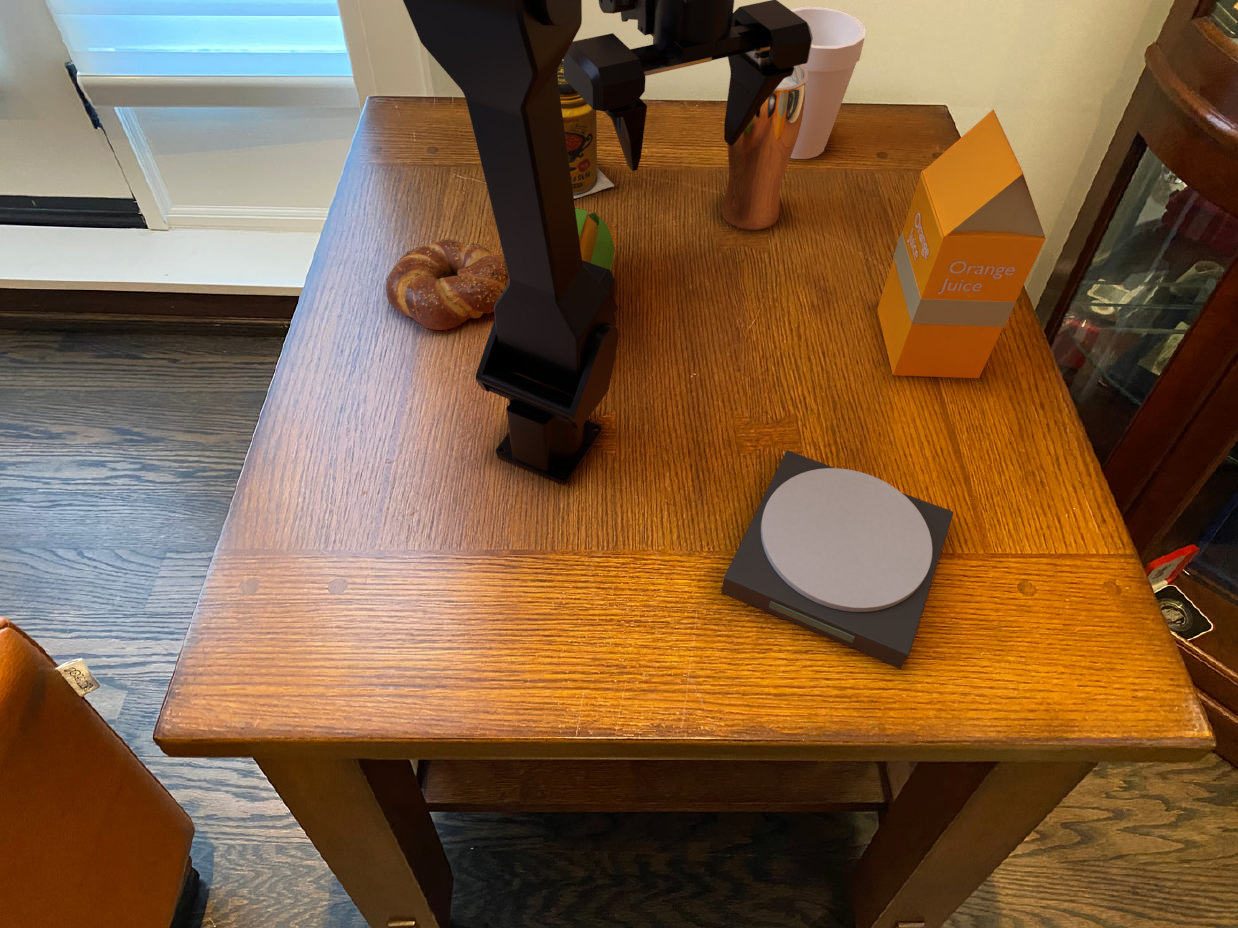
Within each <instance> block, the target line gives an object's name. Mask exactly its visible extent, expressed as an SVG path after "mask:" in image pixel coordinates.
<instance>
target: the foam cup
mask: <svg viewBox="0 0 1238 928" xmlns="http://www.w3.org/2000/svg"><path fill="white" fill-rule="evenodd" d="M789 10H791V11H792V12H794V13H795V14H796V15H798V16H799V17H800V18H802V19H803V20H805V21H806V22H807V23H808V25H809V26H810V29H811V33H812V37H813V39H812V45H811V50H810V55H809V59H808V62H807V63H806V64H802V65H803V66H804V67H805V68H806V70H807V72H808V78H807V85H806V95H805V104H804V111H803V117H802V122H801V127H800V131H799V135H798V138H797V141H796V144H795V147H794V150H793V152H792V155H791V157H790V159H794V160H795V159H796V160H808V159H811V158H816V157H818V156H819V155H821V154H822V153H823V152H825V147H826V146H827V144H828V142H829V139H830V136H831V133H832V130H833V128H834V125H835V122H836V120H837V118H838V114H839V112H840V108H841V106H842V103H843V100H844V98H845V95H846V92H847V90H848V87H849V85H850V82H851V79H852V76H853V73H854V72H855V69H856V66H857V63H858V62H859V61H860V60H861V55H862V51H863V46H864V42H865V37H866V33H867V32H866V31H867V28H866V27H865V25H864V24H863V23H862V22H861V20H859V18H857V17H855V16H853V15H851V14H849V13H847V12H845V11H843V10H840V9H839V10H838V9H834V8H829V7H825V6H799V7H795V8H791V9H790V8H789Z"/></svg>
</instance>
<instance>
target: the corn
mask: <svg viewBox="0 0 1238 928" xmlns="http://www.w3.org/2000/svg"><path fill="white" fill-rule="evenodd" d="M575 211H576V219H577V226H578V234H579V241H580V249H581V256H582V260H584V261H587V262H590V263H592V264H595V265H598V266H601V267H604V268H607V269H609V270H610V271H611V272H612V268H613V266H614V265H613V264H614V257H615V250H616V246H615V242H614V239H613V237H612V233H611V230H610V227H609V226H608V224H607V222H605V221H604V220H603V218H601V216H600V215H599V214H597V213H596V212H595V211H593V212H591V213H588V210H587V209H582V208H577V207H575Z"/></svg>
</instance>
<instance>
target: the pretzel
mask: <svg viewBox="0 0 1238 928" xmlns="http://www.w3.org/2000/svg"><path fill="white" fill-rule="evenodd" d="M385 280H386V281H385V294H386V298H387V301H388V303H389V305H390V306H391V307H392V309H394V310H395V311H396V313H399V314H400V315H402V316H405V317H407V318H412V319H413V320H414V321H415V322H416V323H418V324H419V325H420V326H422V327H424V328H426V329H429V330H440V331H441V330H443V331H444V330H445V331H446V330H450V329H454V328H456V327H458V326H460V325H462V324H464V323H465V322H466V321H467V320H469V319H480V318H481V317H482V316H483V315H484V314H491V313H494V304H495V303H496V301H497V300H498V298H499V297H500V295H501V294H502V292H503V291H504V289H505V288H506V286H507V285H508V283H509V277H508V272H507V268H506V263H505V259H504V255H503V254H492V253H491V252H490V250H489V249H488V248H487V247H485V246H484V245H483V244H480V243H474V242H472V243H469V244H467V245H465V244H464V243H463V242H460V241H459V240H455V239H445V238H442V239H440V240H437V241H434V242H433V243H431V244H429V245H423V246H417V247H415V248H412V249H411V250H408V251H406V253H404V254H403V255H402V256H401V257H400V258H399V260H398V261H397V263H395V265H394V266H393V268H392V270H391V271H390V272H389V274H388V276H387V277H386V279H385Z"/></svg>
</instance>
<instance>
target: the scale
mask: <svg viewBox="0 0 1238 928" xmlns="http://www.w3.org/2000/svg"><path fill="white" fill-rule="evenodd" d="M953 516H954V511H953V510H950V509H947V508H944V507H942V506H939V505H937V504H934V503H931V502H928V501H925V500H923V499H920V498H917V497H914V496H912V495H909V494H906V493H904V492H902V491H900V490H899V489H897V488H896V487H894V486H893V485H891V483H888V482H886V481H884V480H882V479H880V478H878V477H876V476H873V475H871V474H868V473H865V472H862V471H858V470H853V469H848V468H840V467H834V466H831V465H829V464H825V463H824V462H820V461H817V460H816V459H812V458H809V457H807V456H804V455H801V454H799V453H796V452H793V451H792V450H791V451H790V450H785V453H784V454H783V457H782V458H781V461H780V462H779V465H778V467H777V469H776V471H775V473H774V475H773V477H772V479H771V481H770V483H769V485H768V487H767V489H766V491H765V493H764V495H763V497H762V500H761V501H760V503H759V505H758V507H757V509H756V512H755V514H754V515H753V518H752V520H751V522H750V524H749V525H748V527H747V530H746V532H745V533H744V536H743V538H742V540H741V542H740V544H739V545H738V548H737V550H736V551H735V554H734V556H733V558H732V560H731V562H730V564H729V566H728V568H727V571H726V572H725V574H724V576H723V579H722V585H721V589H720V592H721V594H724V595H727V596H728V597H731V598H733V599H736V600H738V601H741V602H743V603H746V604H748V605H749V606H753V607H755V608H757V609H759V610H762V611H764V612H766V613H769V614H771V615H773V616H776V617H778V618H780V619H782V620H785V621H788V622H790V623H792V624H795V625H797V626H800V627H802V628H804V629H806V630H809V631H811V632H813V633H815V634H817V635H820V636H823V637H825V638H827V639H829V640H831V641H835V642H836V643H839V644H841V645H844V646H846V647H849V648H850V649H853V650H854V651H855V650H856V651H858V652H860V653H863V654H864V655H868V656H869V657H871V658H874V659H877V660H879V661H881V662H883V663H886V664H888V665H890V666H892V667H895V668H898V669H902V668H903V667H904V665H905V663H906V662H907V659H909V656H910V655H911V652H912V651H911V650H912V648H913V644H914V642H915V638H916V634H917V632H918V629H919V626H920V622H921V619H922V615H923V612H924V610H925V606H926V603H927V600H928V596H929V593H930V590H931V587H932V583H933V580H934V577H935V573H936V571H937V567H938V564H939V561H940V558H941V554H942V552H943V548H944V545H945V542H946V539H947V536H948V532H949V529H950V525H951V523H952V519H953Z"/></svg>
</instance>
